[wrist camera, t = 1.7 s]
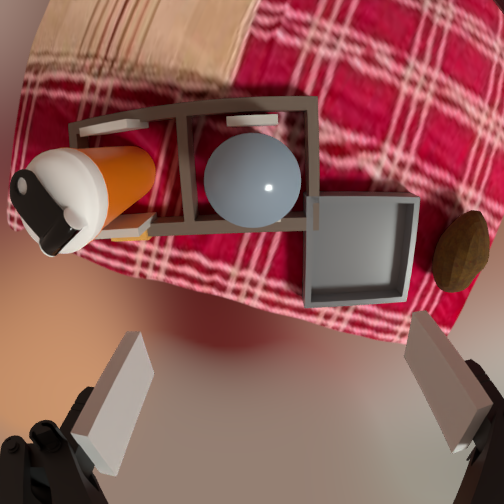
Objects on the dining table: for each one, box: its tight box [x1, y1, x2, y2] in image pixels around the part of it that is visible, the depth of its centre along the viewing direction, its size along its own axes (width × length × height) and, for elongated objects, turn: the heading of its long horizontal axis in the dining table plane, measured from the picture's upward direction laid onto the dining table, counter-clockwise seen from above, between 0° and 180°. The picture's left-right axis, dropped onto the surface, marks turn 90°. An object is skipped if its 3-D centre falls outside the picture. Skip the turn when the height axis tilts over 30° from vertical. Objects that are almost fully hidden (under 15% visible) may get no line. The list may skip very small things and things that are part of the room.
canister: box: [204, 133, 301, 228], centre depth 31 cm, size 7×7×15 cm
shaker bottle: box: [10, 146, 156, 257], centre depth 29 cm, size 9×9×20 cm
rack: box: [68, 96, 319, 241], centre depth 35 cm, size 16×30×7 cm, turn 92°
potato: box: [432, 210, 489, 292], centre depth 37 cm, size 8×12×8 cm, turn 171°
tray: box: [302, 191, 420, 308], centre depth 40 cm, size 15×15×3 cm
